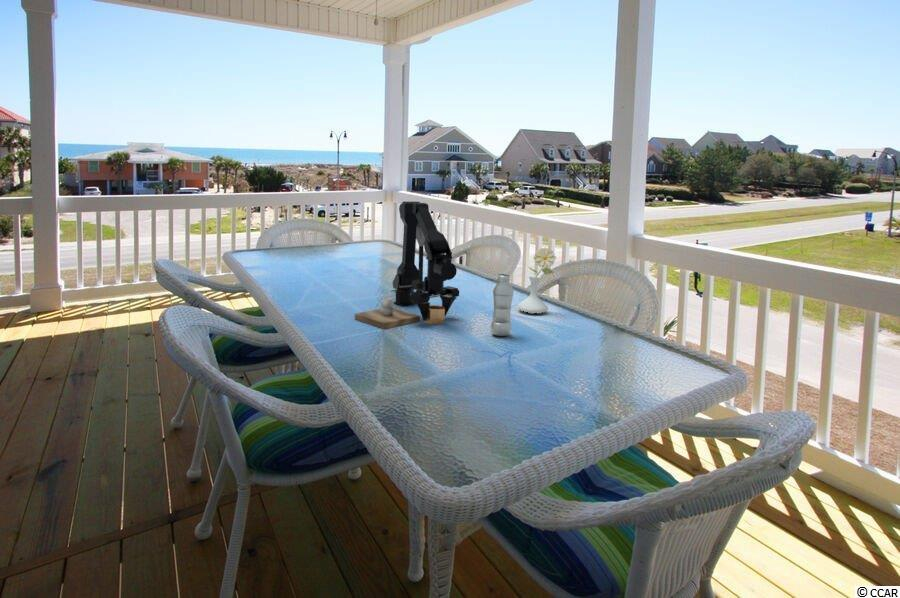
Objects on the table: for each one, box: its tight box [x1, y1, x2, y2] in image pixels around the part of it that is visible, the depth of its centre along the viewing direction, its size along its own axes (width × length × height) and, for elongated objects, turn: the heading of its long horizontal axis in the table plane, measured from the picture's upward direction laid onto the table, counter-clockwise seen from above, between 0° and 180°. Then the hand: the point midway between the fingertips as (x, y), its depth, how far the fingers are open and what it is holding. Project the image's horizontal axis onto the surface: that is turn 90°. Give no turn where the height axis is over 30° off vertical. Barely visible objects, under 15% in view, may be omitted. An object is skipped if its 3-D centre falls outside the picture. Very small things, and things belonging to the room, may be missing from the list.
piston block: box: [354, 297, 421, 330], centre depth 209 cm, size 16×16×8 cm
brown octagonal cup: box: [423, 304, 446, 325], centre depth 210 cm, size 7×7×5 cm
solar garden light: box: [416, 224, 437, 292], centre depth 251 cm, size 12×12×30 cm
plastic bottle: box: [490, 273, 515, 337], centre depth 194 cm, size 6×7×20 cm
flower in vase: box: [517, 246, 557, 314], centre depth 225 cm, size 13×11×25 cm
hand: (434, 318), depth 210 cm, fingers open, 9 cm apart
